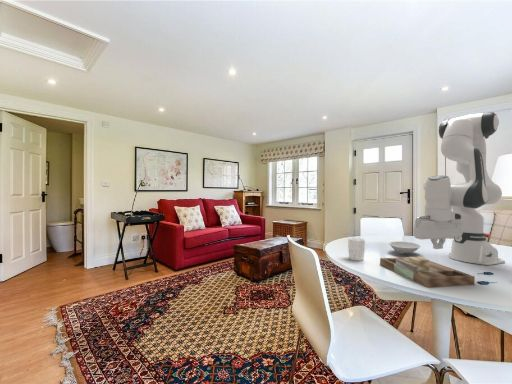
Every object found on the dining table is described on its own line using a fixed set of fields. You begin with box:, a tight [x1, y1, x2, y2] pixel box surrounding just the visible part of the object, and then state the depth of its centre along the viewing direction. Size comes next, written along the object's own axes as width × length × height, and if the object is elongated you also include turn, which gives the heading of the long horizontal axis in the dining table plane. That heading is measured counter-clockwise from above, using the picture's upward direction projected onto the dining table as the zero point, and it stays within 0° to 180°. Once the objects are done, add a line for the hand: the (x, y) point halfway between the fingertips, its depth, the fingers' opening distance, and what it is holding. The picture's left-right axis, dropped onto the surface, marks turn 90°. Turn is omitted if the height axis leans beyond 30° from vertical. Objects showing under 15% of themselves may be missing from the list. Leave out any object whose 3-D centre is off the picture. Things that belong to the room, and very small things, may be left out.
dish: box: [388, 240, 421, 255], centre depth 134 cm, size 18×14×5 cm
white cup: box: [347, 236, 366, 262], centre depth 123 cm, size 8×8×10 cm
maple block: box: [408, 256, 430, 271], centre depth 101 cm, size 5×5×4 cm
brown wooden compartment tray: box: [379, 256, 476, 288], centre depth 103 cm, size 20×26×6 cm
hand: (438, 248), depth 102 cm, fingers closed
